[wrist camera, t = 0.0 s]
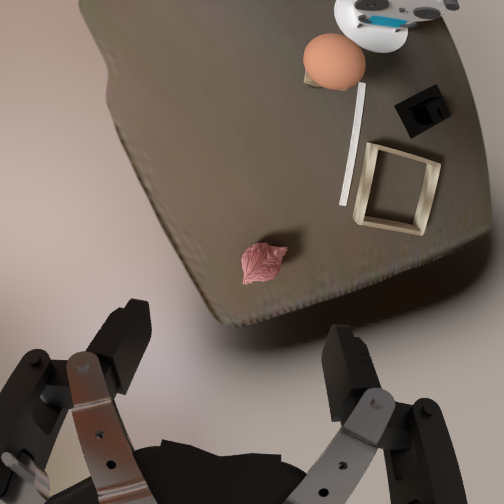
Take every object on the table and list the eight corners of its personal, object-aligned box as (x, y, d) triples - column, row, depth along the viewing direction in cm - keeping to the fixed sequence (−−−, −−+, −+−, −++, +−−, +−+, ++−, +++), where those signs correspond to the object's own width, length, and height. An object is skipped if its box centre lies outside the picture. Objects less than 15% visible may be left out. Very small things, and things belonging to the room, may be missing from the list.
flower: (222, 256, 37) (248, 289, 35) (271, 219, 38) (298, 250, 36) (232, 271, 44) (253, 299, 42) (272, 240, 45) (295, 267, 44)
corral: (367, 142, 35) (374, 144, 32) (430, 160, 35) (441, 164, 32) (352, 217, 40) (358, 224, 37) (414, 228, 40) (422, 235, 37)
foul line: (358, 81, 31) (359, 81, 31) (365, 83, 31) (365, 83, 31) (339, 204, 39) (339, 204, 39) (345, 205, 39) (346, 205, 39)
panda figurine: (337, 50, 29) (375, 14, 16) (322, -14, 25) (347, -67, 11) (413, 57, 28) (473, 38, 15) (397, -5, 24) (445, -41, 10)
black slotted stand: (403, 148, 35) (418, 151, 31) (380, 103, 33) (394, 102, 29) (457, 116, 32) (474, 118, 28) (437, 75, 29) (454, 72, 25)
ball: (302, 37, 23) (311, 19, 17) (357, 50, 23) (376, 35, 18) (296, 87, 25) (304, 78, 20) (352, 98, 26) (371, 93, 20)
